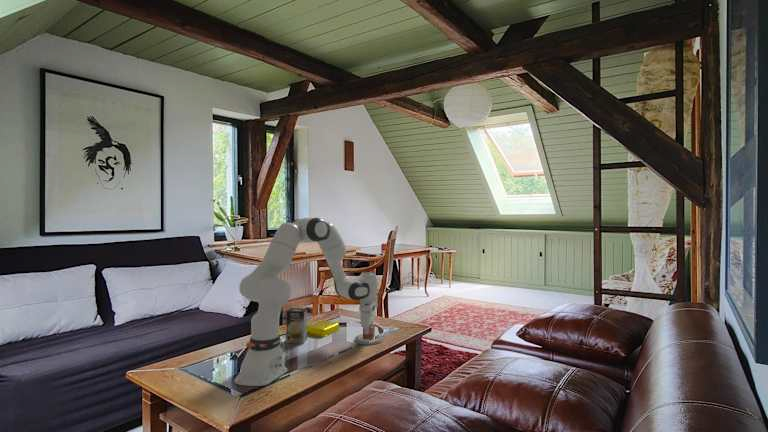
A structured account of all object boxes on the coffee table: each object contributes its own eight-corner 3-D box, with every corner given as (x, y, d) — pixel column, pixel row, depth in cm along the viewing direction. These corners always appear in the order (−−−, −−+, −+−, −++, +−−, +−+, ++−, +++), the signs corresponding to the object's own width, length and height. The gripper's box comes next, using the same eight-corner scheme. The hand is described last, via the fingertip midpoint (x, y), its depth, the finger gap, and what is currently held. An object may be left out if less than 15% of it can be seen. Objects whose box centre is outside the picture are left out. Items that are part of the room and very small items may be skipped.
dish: (380, 345, 204) (380, 343, 204) (352, 343, 206) (352, 341, 206) (384, 336, 218) (384, 334, 218) (358, 334, 220) (358, 332, 220)
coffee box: (285, 343, 207) (285, 311, 206) (289, 339, 213) (289, 307, 213) (303, 344, 206) (303, 311, 205) (307, 339, 212) (307, 308, 212)
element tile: (323, 338, 216) (323, 329, 216) (300, 333, 223) (300, 324, 223) (340, 330, 229) (340, 321, 229) (318, 326, 236) (318, 318, 236)
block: (372, 339, 209) (372, 327, 209) (362, 339, 210) (362, 327, 210) (374, 336, 214) (374, 324, 214) (364, 335, 215) (364, 324, 215)
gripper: (366, 298, 222) (366, 324, 223) (358, 308, 202) (358, 337, 202) (378, 299, 221) (378, 325, 222) (371, 309, 201) (371, 337, 201)
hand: (368, 331), depth 212 cm, fingers open, 8 cm apart
